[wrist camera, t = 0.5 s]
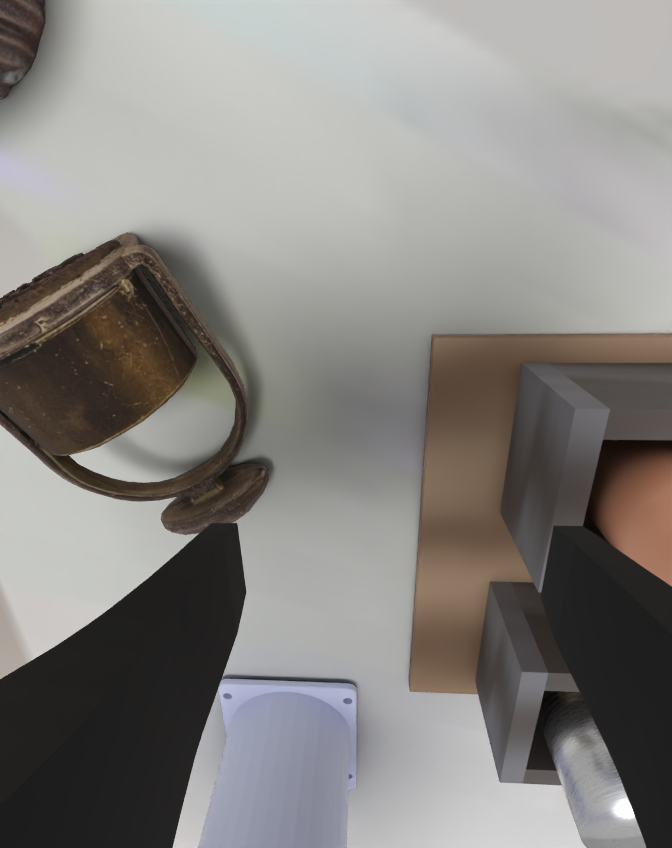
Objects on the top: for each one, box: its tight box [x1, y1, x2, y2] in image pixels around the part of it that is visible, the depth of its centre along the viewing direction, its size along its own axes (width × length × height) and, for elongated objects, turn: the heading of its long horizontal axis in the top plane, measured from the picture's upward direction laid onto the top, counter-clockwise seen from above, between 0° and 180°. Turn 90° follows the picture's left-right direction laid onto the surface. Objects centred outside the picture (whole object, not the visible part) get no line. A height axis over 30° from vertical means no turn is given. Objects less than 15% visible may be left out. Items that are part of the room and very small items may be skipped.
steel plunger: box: [538, 691, 646, 848], centre depth 18 cm, size 4×4×5 cm
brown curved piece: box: [0, 233, 269, 535], centre depth 17 cm, size 7×13×10 cm
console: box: [409, 334, 672, 785], centre depth 20 cm, size 20×14×6 cm
